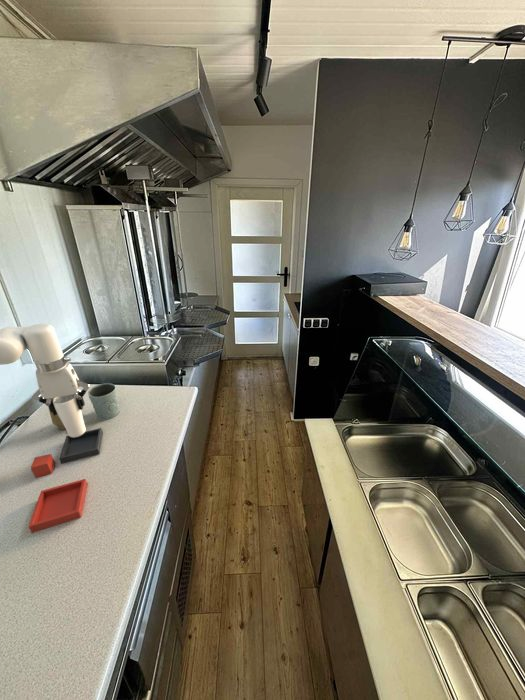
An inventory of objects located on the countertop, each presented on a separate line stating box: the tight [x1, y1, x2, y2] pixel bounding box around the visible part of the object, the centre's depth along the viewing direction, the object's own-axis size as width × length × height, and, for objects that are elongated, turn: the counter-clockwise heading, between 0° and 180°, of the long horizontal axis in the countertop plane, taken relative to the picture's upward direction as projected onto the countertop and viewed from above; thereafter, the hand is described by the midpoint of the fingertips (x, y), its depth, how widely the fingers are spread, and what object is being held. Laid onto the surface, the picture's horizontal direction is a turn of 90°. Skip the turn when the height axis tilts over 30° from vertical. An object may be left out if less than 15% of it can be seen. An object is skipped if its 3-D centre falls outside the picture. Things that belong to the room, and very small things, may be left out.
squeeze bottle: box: [47, 398, 67, 431], centre depth 110 cm, size 8×8×18 cm
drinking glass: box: [53, 395, 87, 438], centre depth 97 cm, size 7×7×15 cm
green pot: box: [87, 382, 120, 421], centre depth 118 cm, size 10×10×12 cm
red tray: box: [28, 478, 88, 534], centre depth 82 cm, size 12×12×2 cm
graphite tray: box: [58, 427, 104, 465], centre depth 103 cm, size 12×12×2 cm
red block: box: [30, 453, 56, 479], centre depth 93 cm, size 4×4×4 cm
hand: (69, 409), depth 96 cm, fingers closed on drinking glass, 6 cm apart
